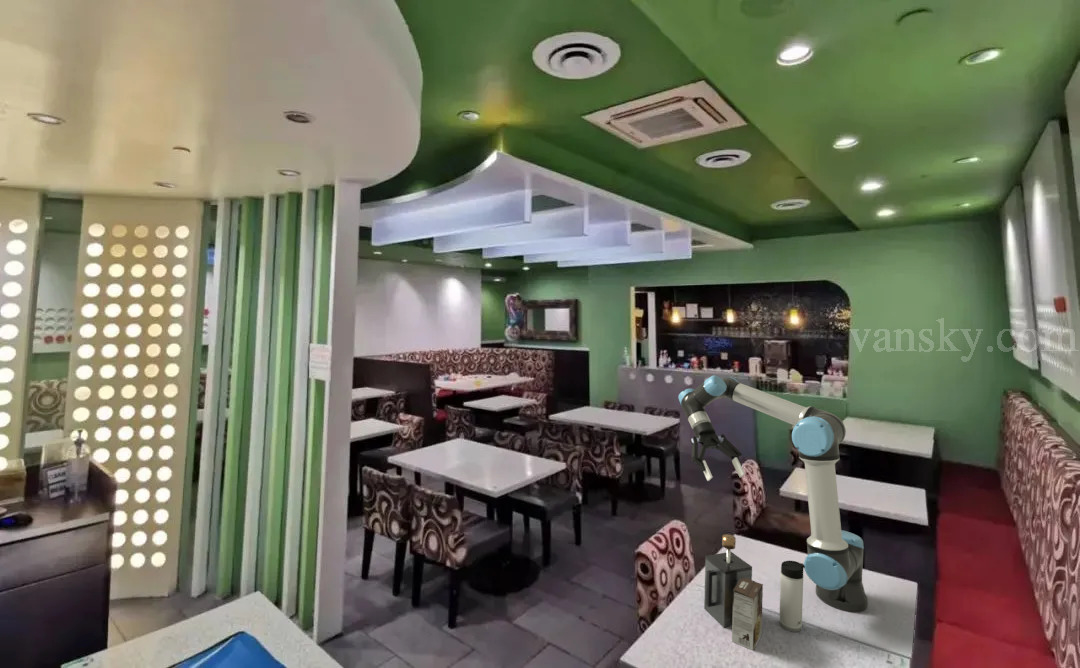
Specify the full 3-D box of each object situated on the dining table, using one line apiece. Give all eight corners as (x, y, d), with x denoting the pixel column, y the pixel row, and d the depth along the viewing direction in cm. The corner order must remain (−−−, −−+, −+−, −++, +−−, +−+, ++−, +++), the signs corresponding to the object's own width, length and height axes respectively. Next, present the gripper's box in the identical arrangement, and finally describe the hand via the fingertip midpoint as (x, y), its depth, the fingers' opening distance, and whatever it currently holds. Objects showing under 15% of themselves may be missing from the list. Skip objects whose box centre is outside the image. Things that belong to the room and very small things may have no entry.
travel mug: (805, 633, 148) (807, 570, 147) (782, 630, 149) (784, 567, 148) (799, 621, 154) (801, 559, 153) (776, 618, 155) (778, 557, 154)
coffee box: (740, 626, 151) (741, 576, 151) (762, 635, 147) (763, 583, 146) (730, 641, 144) (732, 588, 143) (753, 651, 140) (755, 597, 139)
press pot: (729, 603, 163) (731, 551, 162) (750, 622, 153) (752, 566, 152) (697, 610, 159) (698, 556, 158) (716, 629, 150) (718, 572, 149)
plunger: (729, 600, 161) (731, 530, 160) (745, 613, 154) (747, 541, 153) (709, 603, 159) (711, 533, 158) (724, 617, 152) (726, 544, 151)
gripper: (724, 429, 192) (750, 478, 178) (669, 433, 184) (691, 485, 171) (733, 418, 186) (761, 469, 173) (677, 422, 179) (700, 475, 165)
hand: (726, 477), depth 172 cm, fingers open, 13 cm apart
